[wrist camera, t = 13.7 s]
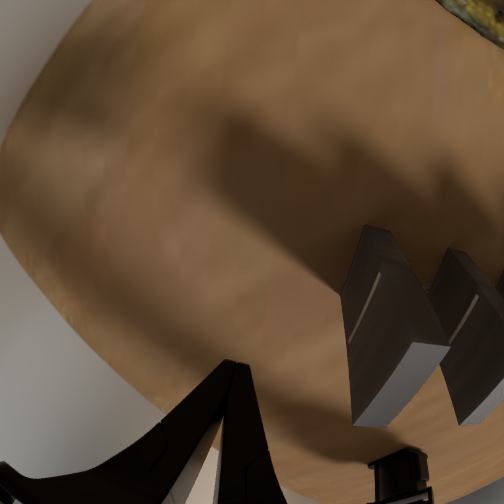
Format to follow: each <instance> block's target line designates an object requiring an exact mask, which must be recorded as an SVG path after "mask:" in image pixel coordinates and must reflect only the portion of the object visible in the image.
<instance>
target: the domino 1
mask: <svg viewBox="0 0 504 504" xmlns="http://www.w3.org/2000/svg"><path fill="white" fill-rule="evenodd" d="M340 297H341V305H342V313H343V321H344V329H345V338H346V347H347V357H348V368H349V380H350V394H351V410H352V426H363V427H384V428H386V427H387V426H388V425H389V424H390V423H391V421H392V420H393V419H394V418H395V417H396V416H397V415H398V414H399V413H400V412H401V411H402V409H403V408H404V407H405V406H406V405H407V404H408V403H409V401H410V400H411V399H412V398H413V397H414V395H415V394H416V393H417V392H418V391H419V389H420V388H421V387H422V386H423V384H424V383H425V382H426V381H427V379H428V378H429V377H430V375H431V374H432V373H433V371H434V370H435V369H436V367H437V366H438V365H439V363H440V362H441V361H442V359H443V358H444V356H445V355H446V354H447V352H448V351H449V349H450V348H451V345H450V343H449V341H448V339H447V336H446V334H445V332H444V330H443V328H442V326H441V323H440V321H439V319H438V317H437V315H436V313H435V311H434V309H433V307H432V305H431V303H430V301H429V299H428V297H427V295H426V293H425V291H424V290H423V288H422V286H421V284H420V282H419V280H418V278H417V277H416V275H415V273H414V271H413V269H412V268H411V266H410V264H409V262H408V261H407V259H406V257H405V255H404V254H403V252H402V250H401V249H400V247H399V245H398V244H397V242H396V240H395V239H394V237H393V235H392V234H391V232H390V231H387V230H384V229H380V228H376V227H372V226H368V225H365V226H364V230H363V233H362V236H361V239H360V242H359V245H358V248H357V251H356V254H355V257H354V260H353V262H352V265H351V268H350V271H349V274H348V276H347V279H346V282H345V285H344V287H343V290H342V293H341V295H340Z"/></svg>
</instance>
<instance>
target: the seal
mask: <svg viewBox="0 0 504 504" xmlns="http://www.w3.org/2000/svg"><path fill="white" fill-rule="evenodd" d="M436 1H437V2H438V3H440V4H441V5H442V6H443V7H444V8H445V9H446V10H447V11H449V12H450V13H451V14H453V15H454V16H456V17H458V18H460V19H461V20H462V21H463V22H465V23H466V24H468V25H469V26H470V27H472V28H473V29H475V30H476V31H477V32H478V33H479V34H480V35H482V36H483V37H484V38H486V39H488V40H489V41H491V42H493V43H494V44H496V45H497V46H498V47H500V48H502V49H504V0H436Z"/></svg>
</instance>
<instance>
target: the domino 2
mask: <svg viewBox="0 0 504 504" xmlns="http://www.w3.org/2000/svg"><path fill="white" fill-rule="evenodd" d="M427 297H428V299H429V301H430V303H431V305H432V307H433V309H434V311H435V313H436V315H437V317H438V319H439V321H440V323H441V326H442V328H443V330H444V332H445V334H446V336H447V339H448V341H449V343H450V345H451V348H450V349H449V351H448V352H447V354H446V355H445V356H444V358H443V359H442V361H441V362H440V363H439V364H440V367H441V370H442V373H443V376H444V378H445V381H446V384H447V387H448V391H449V394H450V397H451V400H452V403H453V407H454V410H455V414H456V417H457V421H458V424H459V426H463V425H473V424H480V423H481V422H482V421H483V420H484V419H485V418H486V417H487V416H488V415H489V414H490V413H491V412H492V411H493V410H494V409H495V408H496V407H497V406H498V405H499V404H500V403H501V402H502V400H503V399H504V299H503V297H502V296H501V295H500V293H499V292H498V291H497V290H496V288H495V287H494V286H493V284H492V283H491V282H490V281H489V279H488V278H487V277H486V276H485V275H484V273H483V272H482V271H481V270H480V269H479V267H478V266H477V265H476V264H475V263H474V262H473V260H472V259H471V258H470V257H469V256H468V255H467V254H466V253H464V252H461V251H458V250H454V249H451V248H448V250H447V252H446V255H445V257H444V259H443V261H442V264H441V266H440V268H439V270H438V273H437V275H436V277H435V279H434V281H433V283H432V285H431V287H430V289H429V291H428V293H427Z"/></svg>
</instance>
